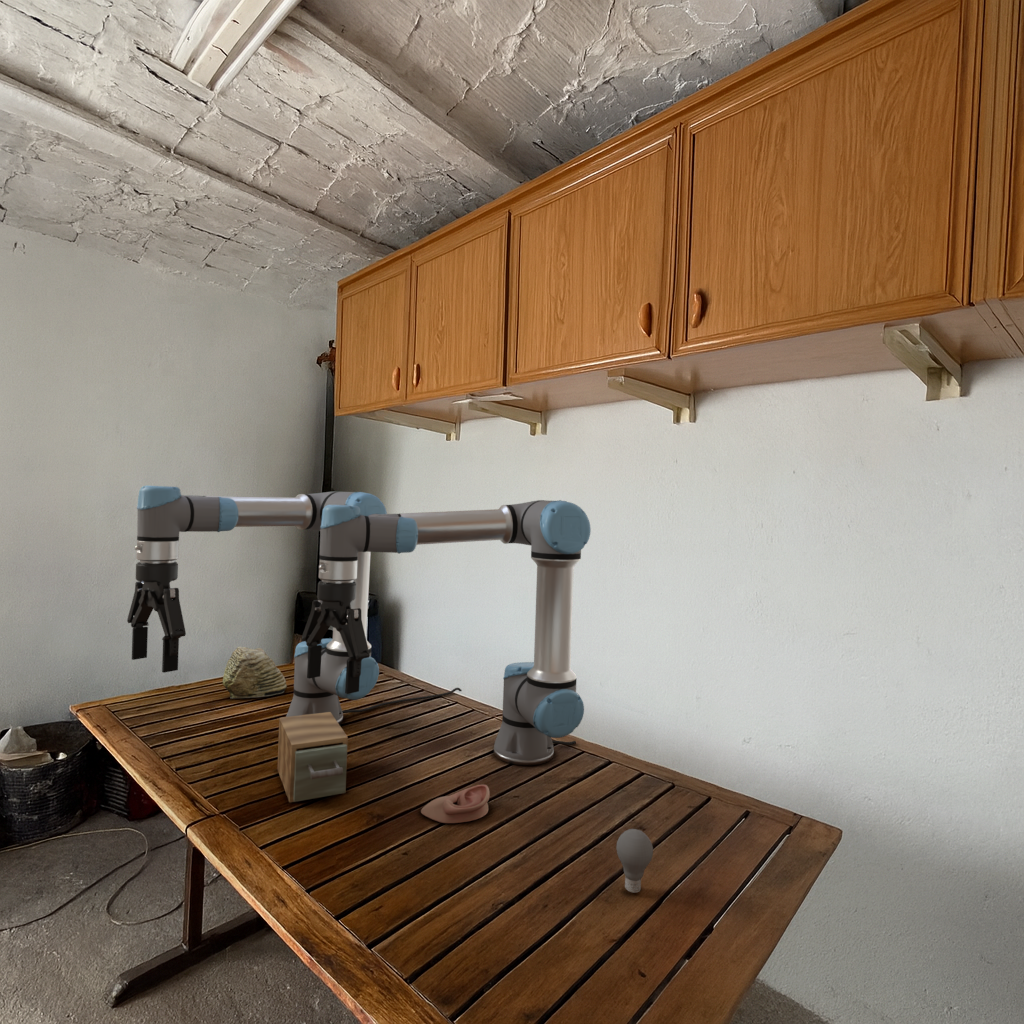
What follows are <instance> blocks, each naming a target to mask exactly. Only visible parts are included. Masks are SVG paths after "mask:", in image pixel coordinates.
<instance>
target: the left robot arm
mask: <svg viewBox="0 0 1024 1024" xmlns="http://www.w3.org/2000/svg"><path fill="white" fill-rule="evenodd" d="M326 505H349V506H358V507H359V508H360V513H361V515H364V516H367V515H370V514H377V513H378V514H388V513H387V509H386V506H385V504H384V503H383V502H382V501H381V499H380V498H379V497H378V496H377V495H374V494H372V493H368V492H363V491H337V490H336V491H326V492H317V493H299V494H297V495H296V496H294V497H290V496H289V497H288V496H244V495H243V496H242V495H241V496H238V495H237V496H235V495H193V494H192V495H191V494H189V495H188V494H186V495H184V494H182V492H181V489H180V487H178V486H169V485H168V486H167V485H166V486H165V485H143V486H141V488H139V492H138V496H137V505H136V510H137V511H136V514H137V519H136V520H137V523H136V524H137V525H136V527H137V532H136V533H137V534H136V535H137V536H136V545H135V546H134V550H135V551H136V560H137V561H138V562H137V563H136V564H135V580H136V581H135V583H134V593H133V597H132V601H131V604H130V608H129V612H128V616H127V619H126V622H127V624H130V626H131V628H132V633H131V635H132V637H131V660H133V661H135V660H141V659H146V658H148V637H149V636H148V634H149V627H148V626H149V619H150V617H151V615H152V612H153V611H154V612H156V613H157V615H158V618H159V621H160V625H161V627H162V630H163V634H164V636H163V637H162V638H161V640H162V658H161V659H162V661H161V672H162V673H163V674H164V673H171V672H174V671H178V670H179V645H180V638H183V637H186V635H187V633H186V627H185V623H184V617H183V611H182V607H181V601H180V589H179V587H171V582H174V581H177V580H178V577H179V563H178V561H177V560H178V559H179V555H180V554H179V553H180V551H179V550H180V532H181V533H186V532H187V533H188V532H191V533H193V532H196V533H197V532H198V533H199V532H200V533H201V532H203V533H204V532H208V533H209V532H211V533H212V532H213V533H214V532H216V533H220V532H230V531H232V530H234V528H251V527H253V528H255V527H257V528H259V527H261V528H262V527H295V528H296V529H297V530H308V531H309V530H310V531H318V532H321V528H320V526H321V521H322V511H323V508H324V507H325V506H326ZM371 553H372V552H358V559H357V560H358V562H357V578H356V579H355V580H354V582H355V583H356V598H355V599H354V600H353V601H352V602H351V609H357V608H360V609H361V619H362V624H363V628H364V633H365V637H366V638H367V627H368V610H369V609H368V608H369V592H370V591H369V590H370V589H369V588H370V573H371V572H370V571H371ZM346 624H347V623H346ZM366 641H367V646H368V650H369V657H368V658H364V659H362V661H361V675H360V680H359V692H354V693H350V694H346V693H345V686H346V666H347V660H348V658H349V655H348V653H347V650H346V647H345V645H344V642H343V640H342V637H341V635H340V632H339V631H337V630H336V628H334V627H332V638H322V640H321V642H322V644H318V645H321V646H322V653H321V672H320V677H315V678H310V679H309V678H307V667H308V646H307V644H306V642H305V641H300V642H299V643H297V645H296V646H295V650H294V655H293V657H294V672H293V673H294V674H293V695H292V696H293V697H292V699H291V702H290V704H289V708H288V711H287V713H286V715H285V717H291V716H300V715H308V714H317V713H325V712H331V713H332V715H333V716H334V718H335V719H336V721H337V722H338V724H339V725H340V726H341V725H342V723H343V722H344V714H349V713H350V714H352V713H363V712H367V711H371V710H373V709H377V708H379V707H382V706H387V705H392V704H398V703H404V702H411V701H420V700H426V699H433V698H439V697H440V698H441V697H445V696H449V695H452V694H453V693H455V692H456V691H458V692H462V691H463V690H462V689H461V688H460V687H454V688H453V689H451V690H450V691H446V692H443V693H438V694H432V695H426V696H425V695H424V696H417V697H410V698H402V699H396V700H390V701H386V702H381V703H378V704H377V703H376V704H374V705H372V706H369V707H366V708H360V709H346V710H343V709H342V706H341V702H340V699H339V698H341V699H347V700H351V701H357V700H360V699H363V698H364V697H366V696H367V695H368V694H370V692H371V690H373V689H374V688H375V686H376V684H377V682H378V679H379V676H380V667H379V664H378V663H379V662H377V661H376V659H375V658H374V657H373V656H372V644H371V643H370V642H369V641H368V640H367V639H366ZM318 645H317V646H318ZM362 652H363V651H362ZM354 654H355V652H354Z"/></svg>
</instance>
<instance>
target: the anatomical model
mask: <svg viewBox="0 0 1024 1024" xmlns="http://www.w3.org/2000/svg"><path fill="white" fill-rule="evenodd" d="M490 795H491V792H490V788H489V786H488V785H487V784H477V785H473V786H470V787H468V788H464V789H462V790H460V791H457V792H455V793H452V794H450V795H445V796H440V797H437V798H435V799H433V800H431V801H430V802H428V803H426V804H425V805H424V806H423V807H422V808H421V809H420V813H421V814H422V815H423V816H425V817H426V818H428V819H430V820H433V821H435V822H439V823H441V824H458V823H459V824H460V823H467V822H471V821H476V820H478V819H482V818H483V817H485V816H486V815H487V814H488V813H489V804H488V802H489V800H490V797H491V796H490Z"/></svg>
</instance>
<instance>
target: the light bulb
mask: <svg viewBox="0 0 1024 1024" xmlns="http://www.w3.org/2000/svg"><path fill="white" fill-rule="evenodd" d="M615 849H616V854H617V857H618V859H619V861H620V863H621V865H622V867H623V873H624V874H623V875H624V876H625V878H624V888H625V890H627V891H628V892H630V893H634V894H635V893H639V892H640V891H641V889H642V887H641V886H642V879H643V877H644V875H645V871H646V868H647V867H648V866H649V864H650V863H651V861H652V859H653V855H654V847H653V843H652V841H651V838H649V836H648V835H647V834H646V833H645V832H643V831H642V830H641V829H636V828H629V829H627V830H625V831H623V832H622V833H621V834H620V835H619V837H618V839H617V841H616V847H615Z"/></svg>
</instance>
